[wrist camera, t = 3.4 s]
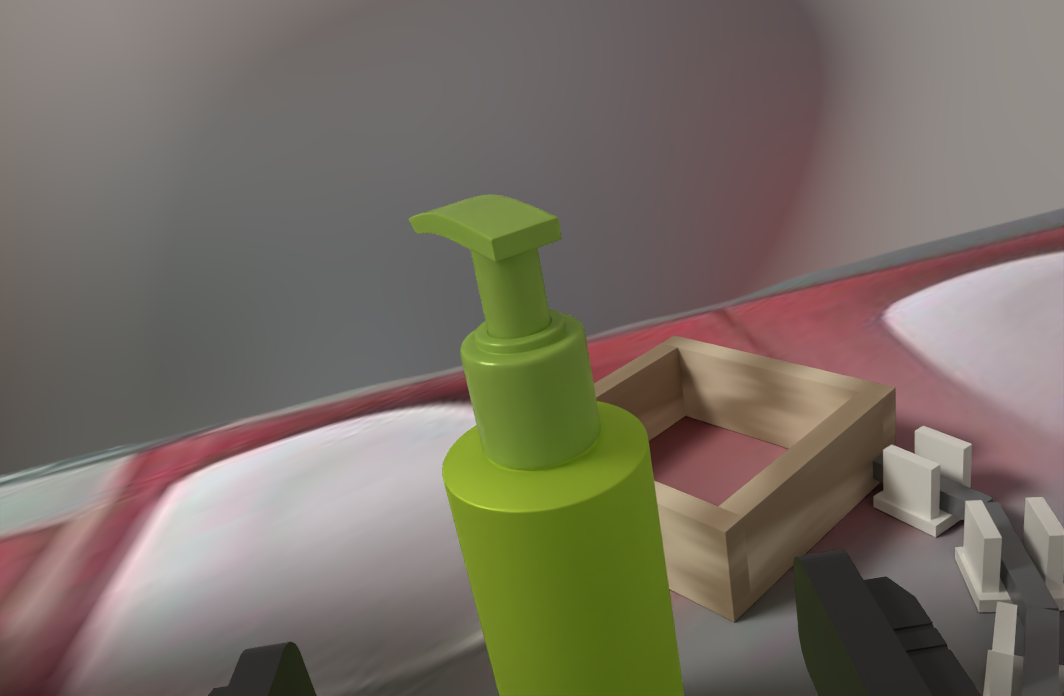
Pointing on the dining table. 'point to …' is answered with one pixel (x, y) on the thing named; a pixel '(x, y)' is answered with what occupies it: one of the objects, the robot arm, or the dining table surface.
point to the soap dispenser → (551, 484)
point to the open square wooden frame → (776, 492)
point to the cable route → (987, 556)
